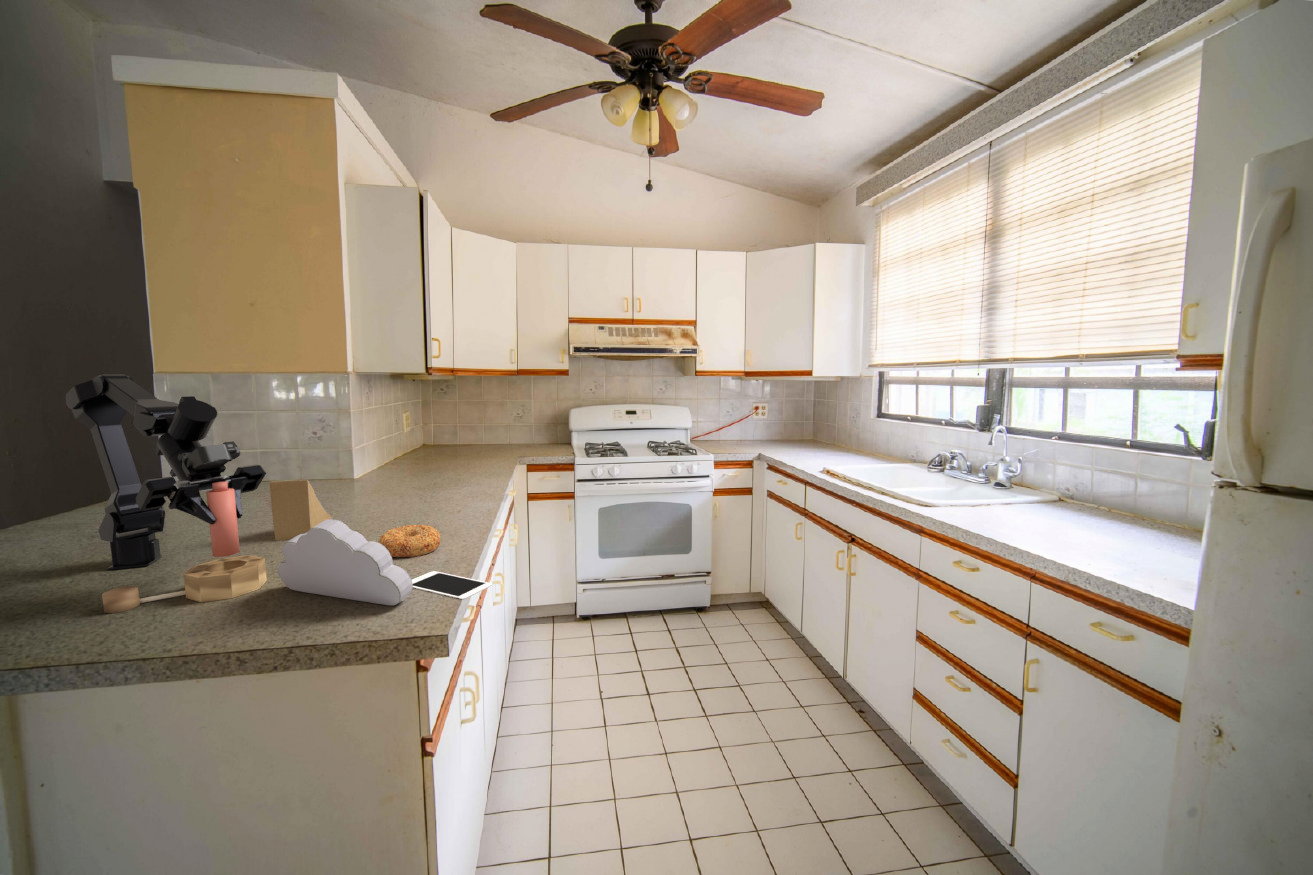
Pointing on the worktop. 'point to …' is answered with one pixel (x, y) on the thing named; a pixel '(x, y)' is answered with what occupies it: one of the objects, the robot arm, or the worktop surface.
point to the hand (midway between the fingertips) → (227, 519)
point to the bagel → (411, 540)
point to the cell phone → (449, 585)
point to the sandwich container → (295, 508)
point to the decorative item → (342, 566)
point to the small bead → (121, 599)
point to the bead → (225, 578)
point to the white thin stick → (162, 596)
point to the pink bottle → (223, 520)
